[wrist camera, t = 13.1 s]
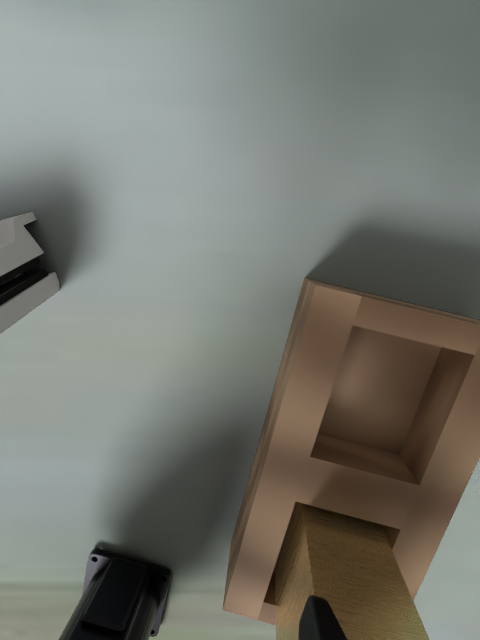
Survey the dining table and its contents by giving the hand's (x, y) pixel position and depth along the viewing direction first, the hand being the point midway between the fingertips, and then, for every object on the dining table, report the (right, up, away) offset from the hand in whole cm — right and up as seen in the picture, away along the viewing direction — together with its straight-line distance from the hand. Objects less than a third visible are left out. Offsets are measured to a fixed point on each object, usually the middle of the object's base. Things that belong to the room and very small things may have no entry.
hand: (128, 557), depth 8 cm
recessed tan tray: (+9, -2, +13) cm, 16 cm away
